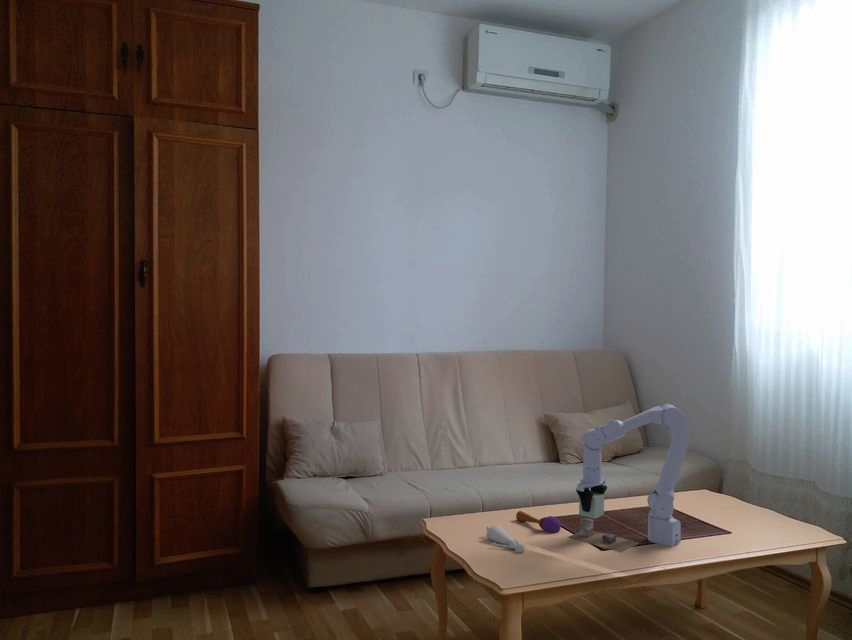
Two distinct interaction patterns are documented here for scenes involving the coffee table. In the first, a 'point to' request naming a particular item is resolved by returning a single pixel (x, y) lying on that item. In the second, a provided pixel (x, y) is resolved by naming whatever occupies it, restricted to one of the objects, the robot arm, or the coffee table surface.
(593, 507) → the frosted mint cube
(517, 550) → the woman figurine
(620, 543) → the board
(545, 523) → the purple and brown maraca
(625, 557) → the coffee table surface
